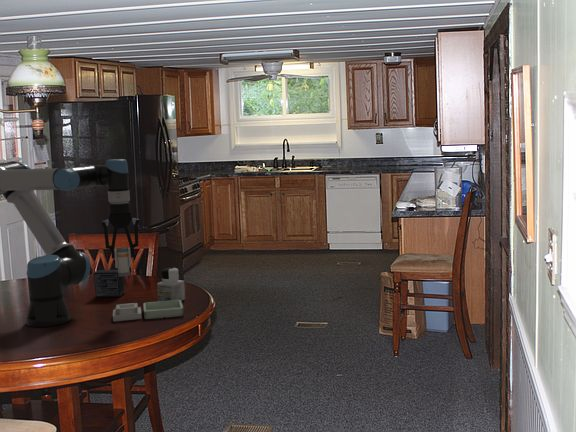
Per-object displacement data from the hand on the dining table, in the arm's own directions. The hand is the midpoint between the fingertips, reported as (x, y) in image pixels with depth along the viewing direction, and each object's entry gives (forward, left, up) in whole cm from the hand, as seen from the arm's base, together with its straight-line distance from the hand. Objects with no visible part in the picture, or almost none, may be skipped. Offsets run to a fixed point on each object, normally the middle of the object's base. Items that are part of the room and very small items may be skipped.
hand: (123, 266), depth 280 cm
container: (+17, +19, -19) cm, 32 cm away
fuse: (0, 0, -3) cm, 3 cm away
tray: (+13, +1, -19) cm, 23 cm away
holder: (0, 0, -19) cm, 19 cm away
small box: (-7, +38, -19) cm, 43 cm away
